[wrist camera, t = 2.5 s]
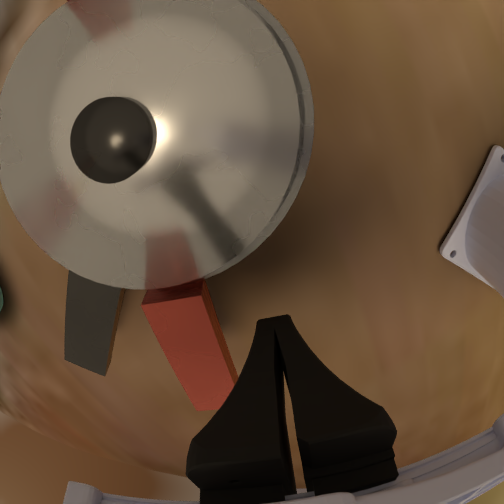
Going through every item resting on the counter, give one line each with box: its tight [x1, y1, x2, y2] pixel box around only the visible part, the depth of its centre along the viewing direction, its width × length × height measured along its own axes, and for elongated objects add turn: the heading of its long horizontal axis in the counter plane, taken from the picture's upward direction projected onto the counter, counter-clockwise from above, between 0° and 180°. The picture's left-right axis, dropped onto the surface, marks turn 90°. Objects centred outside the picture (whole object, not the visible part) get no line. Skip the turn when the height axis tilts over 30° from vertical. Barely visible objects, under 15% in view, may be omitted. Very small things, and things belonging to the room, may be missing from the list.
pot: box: [65, 0, 314, 376], centre depth 12 cm, size 13×23×4 cm, turn 156°
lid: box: [0, 0, 300, 411], centre depth 9 cm, size 23×11×2 cm, turn 11°
